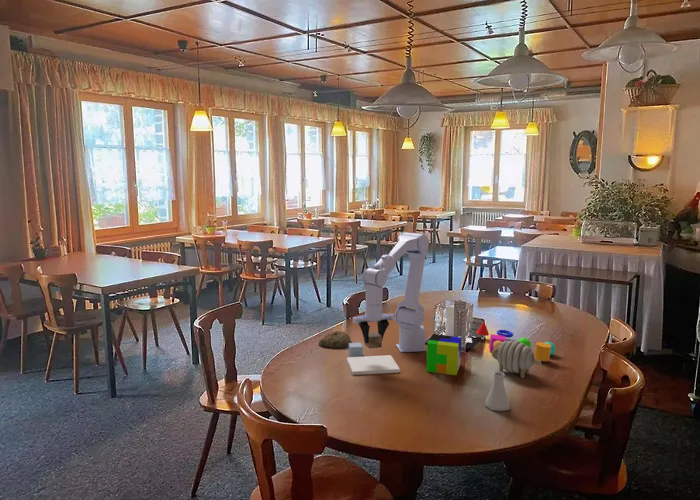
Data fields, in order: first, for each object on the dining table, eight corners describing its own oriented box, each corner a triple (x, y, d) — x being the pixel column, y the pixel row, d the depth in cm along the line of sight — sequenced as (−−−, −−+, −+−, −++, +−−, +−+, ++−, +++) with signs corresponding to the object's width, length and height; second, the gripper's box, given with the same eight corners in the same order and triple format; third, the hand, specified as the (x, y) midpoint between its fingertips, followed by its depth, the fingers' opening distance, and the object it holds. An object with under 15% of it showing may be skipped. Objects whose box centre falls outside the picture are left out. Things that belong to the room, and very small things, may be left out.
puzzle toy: (460, 364, 184) (461, 337, 183) (456, 375, 175) (457, 346, 173) (431, 361, 188) (432, 334, 186) (426, 371, 178) (427, 343, 177)
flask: (481, 401, 156) (482, 369, 155) (504, 400, 157) (506, 368, 155) (489, 412, 149) (491, 379, 148) (514, 411, 150) (516, 378, 148)
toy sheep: (496, 363, 186) (497, 332, 184) (545, 374, 177) (547, 342, 175) (485, 372, 178) (486, 341, 176) (536, 385, 168) (538, 351, 166)
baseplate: (390, 358, 190) (390, 355, 189) (399, 372, 177) (399, 369, 177) (346, 360, 187) (346, 357, 187) (352, 375, 174) (352, 371, 174)
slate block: (360, 352, 195) (360, 342, 194) (362, 357, 191) (362, 346, 190) (348, 353, 194) (348, 343, 194) (350, 357, 190) (350, 347, 189)
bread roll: (348, 350, 198) (348, 337, 197) (316, 347, 201) (316, 335, 200) (354, 339, 211) (354, 327, 210) (324, 337, 213) (324, 325, 212)
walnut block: (376, 343, 185) (376, 332, 184) (381, 347, 181) (381, 336, 180) (364, 344, 183) (364, 333, 183) (369, 348, 179) (369, 337, 178)
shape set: (561, 372, 182) (564, 352, 181) (458, 357, 188) (461, 337, 186) (544, 344, 211) (547, 326, 210) (456, 331, 216) (458, 314, 215)
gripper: (388, 299, 186) (387, 336, 188) (349, 302, 181) (349, 340, 183) (397, 304, 179) (396, 342, 181) (357, 307, 174) (356, 346, 176)
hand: (373, 341), depth 182 cm, fingers closed on walnut block, 4 cm apart
